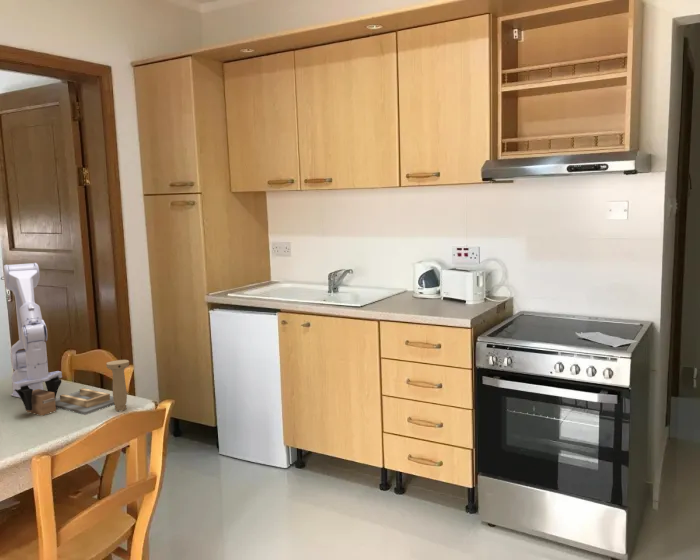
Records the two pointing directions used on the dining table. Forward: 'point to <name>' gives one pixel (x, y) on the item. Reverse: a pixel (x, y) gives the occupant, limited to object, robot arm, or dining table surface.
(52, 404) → the cabinet block
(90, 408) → the cradle
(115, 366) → the handle
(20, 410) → the dining table surface
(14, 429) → the dining table surface
